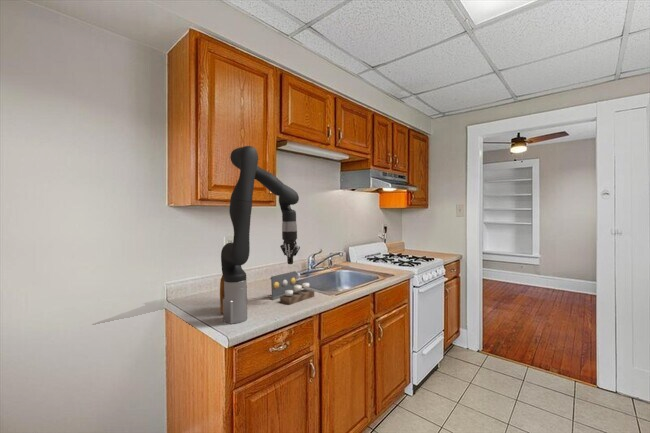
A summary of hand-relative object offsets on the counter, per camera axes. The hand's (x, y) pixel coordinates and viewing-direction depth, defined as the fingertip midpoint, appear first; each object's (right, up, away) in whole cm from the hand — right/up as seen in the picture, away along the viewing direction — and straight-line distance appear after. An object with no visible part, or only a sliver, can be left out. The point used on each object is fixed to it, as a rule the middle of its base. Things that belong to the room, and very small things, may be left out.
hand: (290, 264), depth 157 cm
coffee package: (-25, -20, -12) cm, 34 cm away
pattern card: (-4, -19, +11) cm, 22 cm away
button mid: (+3, -14, +4) cm, 15 cm away
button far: (+7, -14, +8) cm, 18 cm away
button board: (+3, -19, +4) cm, 20 cm away
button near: (-1, -16, 0) cm, 16 cm away
